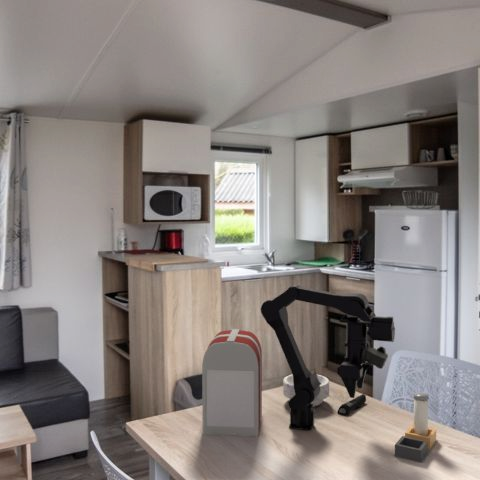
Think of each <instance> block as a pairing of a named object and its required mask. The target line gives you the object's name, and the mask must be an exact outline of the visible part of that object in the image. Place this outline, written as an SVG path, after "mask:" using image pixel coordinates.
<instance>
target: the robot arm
mask: <svg viewBox="0 0 480 480" xmlns="http://www.w3.org/2000/svg"><path fill="white" fill-rule="evenodd" d="M295 301H299V302H306V303H309V304H314V305H318V306H319V305H320V306H324V307H330V308H333V309H335V310H337V311H339V312H340V313H344V315H343V316H342V318H340V319H339V320H338V322H339V323H344V324H345V325H346V332H345V334H346V336H345V338H346V339H345V342H344V347H345V348H346V349H345V351H346V353H345V356H344V360H343V362H342V363H340V365H338V366H337V375H338V376H339V378H340V379H341V381H342V383H343V385H344V387H345V389H346V391H347V393H348V397H349V398H352V399H355V398H356V397H355V395H356V390H357V388H358V389H362V388H363V385H364V380H365V376H366V373H367V370H368V369H369V368H370V367H371V366H375V367H376V368H377V369H383V368H384V366H385V365H386V362H387V360H388V357H389V356H388V353H387V352H386V348H385V347H384V346H381V345H380V346H379V347H378V348H377V349H376V348H375V347H373V348H372V347H370V346H371V345H370V342H369V340H368V337H369V338H370V339H371V340H372V341H377V342H378V341H379V342H391V343H393V342H394V341H395V337H396V334H395V333H396V328H395V322H394V316H377V314H375V312H374V311H373V309H372V308H371V307H370V304H369V303H370V302H369V299H368V297H366V295H365V294H364V293H358V292H357V293H356V292H355V293H351V292H350V293H348V292H347V293H336V292H330V291H325V290H320V289H316V288H309V287H306V286H305V287H304V286H301V285H298V284H295V285H292V286H290V287H288V288H287V289H286V290H285V291H284V292H282V293H281V294H279V295H278V296H276V297H272V298H269V299H268V300H265V301H264V302H263V303H262V305H261V307H260V313H261V315H262V317H263V319H264V321H265V322H266V323H267V324H268V325H269V326H270V327H271V328H272V330H273V331H274V333H275V335H276V338H277V340H278V343H279V345H280V348H281V349H282V353H283V354H284V356H285V359H286V362H287V364H288V366H289V369H290V372H291V375H292V374H293V385H294V390H295V395H294V396H293V397H292V398H291V399H288V401H287V404H288V407H289V422H290V423H289V425H288V428H289V429H297V430H306V431H311V430H312V427H313V426H314V425H315V417H316V416H315V415H316V414H315V413H316V412H315V409H314V408H313V404H311V403H312V402H313V400H314V399H315V398H316V397H317V396H318V395H319V393H320V385H321V383H320V382H319V380H318V378H317V374H318V373H317V372H316V371H313V372H312V373H311V371H310V370H309V369H308V368H307V366H306V363H305V360H304V359H303V356H302V353H301V351H300V349H299V346H298V344H297V341H296V339H295V337H294V335H293V332H292V330H291V328H290V324H289V315H288V310H287V309H288V307H289V306H290V305H291V304H293V303H294V302H295Z"/></svg>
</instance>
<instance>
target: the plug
mask: <svg viewBox="0 0 480 480" xmlns="http://www.w3.org/2000/svg"><path fill="white" fill-rule="evenodd" d="M428 421H429V394H427V393H424V392H414V394H413V425H414V434H419V435H423V436H428V427H429V423H428Z"/></svg>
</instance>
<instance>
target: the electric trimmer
mask: <svg viewBox="0 0 480 480" xmlns="http://www.w3.org/2000/svg"><path fill="white" fill-rule="evenodd" d="M366 401H367V397H366V395H365V394H364V393H362V394H361V395H358V396H356V397H354V398H352V399H351V400H349V401H347V402H345V403H342V404H341V405H340V406H339V408H338V409H337V414H338V415H340V416H345V417H346V416H349V415H350V412H352V411H354V410H356V409H360V408H361V407H362V406H363V404H365V403H366Z"/></svg>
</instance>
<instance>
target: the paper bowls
mask: <svg viewBox="0 0 480 480" xmlns="http://www.w3.org/2000/svg"><path fill="white" fill-rule="evenodd" d="M316 374H317V378H318V380H319V382H320V383H321V385H320V393H319V395H318V396H317V397H316V398H315V399H314V400H313V402H312V403H311V404H313V407H317V406H320V405H321V404H322V402H323V401H324V400H325V399H327V398H328V397H329V396H330V380H329V378H327V377H326V376H324V375H320V374H318V373H316ZM282 381H283V382H282V385H283V386H282V388H283V390H282V392H283V396H284V397H286V398H287V399H288V400H290V399H291V398H292V397H293V396H294V395H295V390H294V385H293V374H292V373H291V374H289V375H287V376H285V377H284V378H283V380H282Z"/></svg>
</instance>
